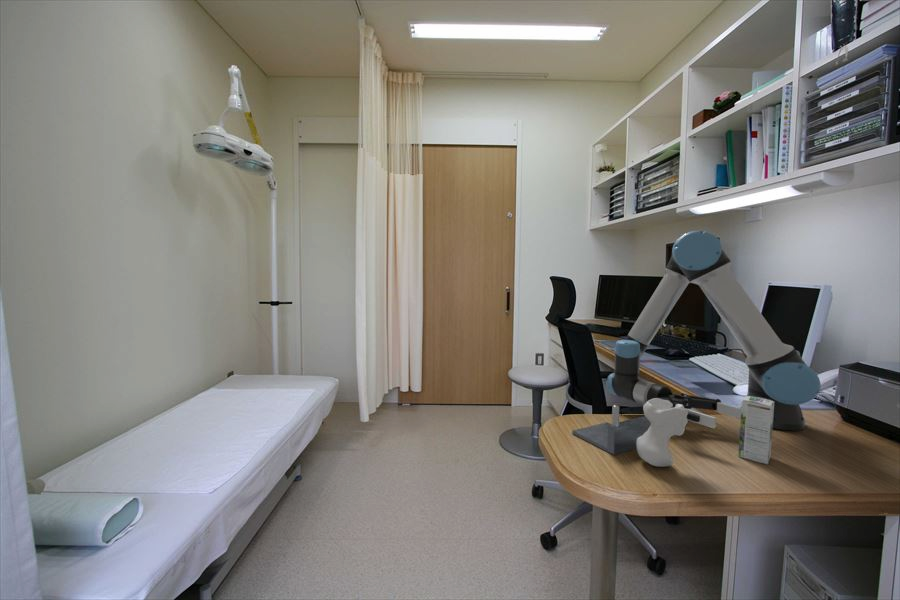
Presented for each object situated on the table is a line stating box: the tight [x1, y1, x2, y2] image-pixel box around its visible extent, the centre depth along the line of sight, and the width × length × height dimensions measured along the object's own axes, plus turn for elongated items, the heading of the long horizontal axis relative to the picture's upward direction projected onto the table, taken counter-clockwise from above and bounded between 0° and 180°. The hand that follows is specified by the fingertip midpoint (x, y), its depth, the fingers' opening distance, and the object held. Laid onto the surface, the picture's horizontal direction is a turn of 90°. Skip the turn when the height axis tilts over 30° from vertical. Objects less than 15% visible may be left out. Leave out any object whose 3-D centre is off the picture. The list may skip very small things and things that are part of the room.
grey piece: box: [571, 404, 651, 456], centre depth 99 cm, size 14×14×12 cm
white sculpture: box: [636, 398, 689, 468], centre depth 85 cm, size 10×11×15 cm
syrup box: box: [737, 395, 774, 465], centre depth 89 cm, size 6×6×14 cm
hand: (730, 418), depth 94 cm, fingers open, 13 cm apart
